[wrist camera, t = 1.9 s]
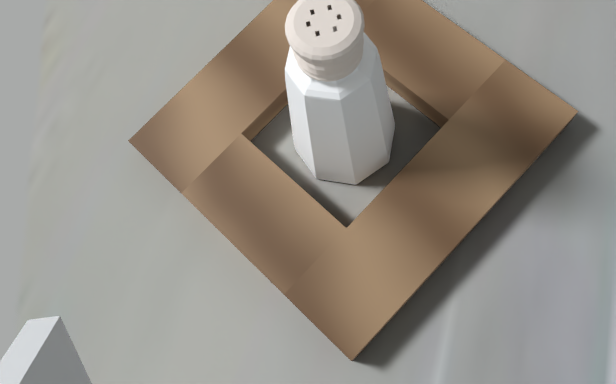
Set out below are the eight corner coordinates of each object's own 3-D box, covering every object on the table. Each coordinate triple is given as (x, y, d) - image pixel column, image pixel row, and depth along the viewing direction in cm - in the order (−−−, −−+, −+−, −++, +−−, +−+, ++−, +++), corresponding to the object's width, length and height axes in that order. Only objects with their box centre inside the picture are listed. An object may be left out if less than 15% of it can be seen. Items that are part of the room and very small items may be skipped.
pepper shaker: (383, 80, 31) (382, -63, 21) (407, 173, 29) (420, 70, 19) (285, 104, 31) (235, -25, 21) (304, 197, 30) (260, 108, 19)
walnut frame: (338, -43, 34) (335, -61, 32) (568, 123, 29) (578, 111, 28) (139, 150, 32) (128, 140, 30) (353, 361, 27) (351, 361, 26)
